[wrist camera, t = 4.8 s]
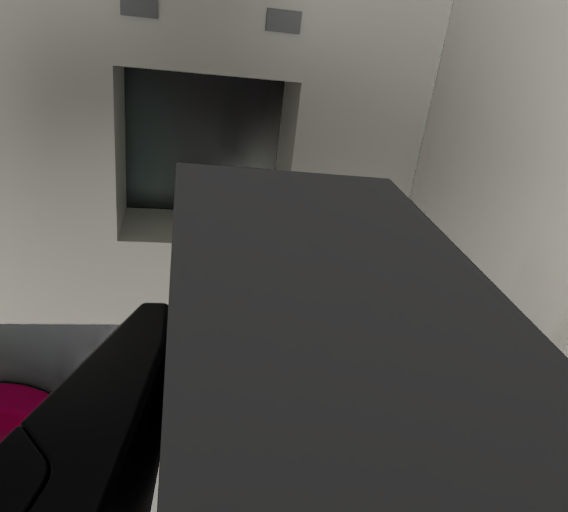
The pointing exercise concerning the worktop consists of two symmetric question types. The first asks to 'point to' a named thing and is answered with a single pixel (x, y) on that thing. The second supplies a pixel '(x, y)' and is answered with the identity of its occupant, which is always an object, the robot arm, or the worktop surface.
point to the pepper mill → (17, 405)
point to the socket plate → (194, 59)
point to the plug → (346, 358)
